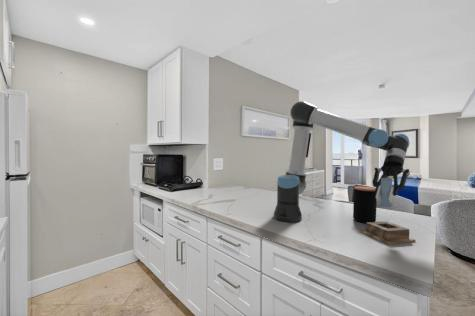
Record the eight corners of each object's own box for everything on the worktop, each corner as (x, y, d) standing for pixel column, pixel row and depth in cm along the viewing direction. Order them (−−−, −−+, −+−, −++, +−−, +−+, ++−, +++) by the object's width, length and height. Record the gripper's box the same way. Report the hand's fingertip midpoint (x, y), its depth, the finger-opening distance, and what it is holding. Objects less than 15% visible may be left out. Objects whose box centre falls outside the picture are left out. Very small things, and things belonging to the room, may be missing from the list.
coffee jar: (372, 219, 123) (373, 186, 122) (378, 225, 112) (380, 189, 112) (351, 217, 125) (351, 185, 125) (355, 223, 115) (356, 188, 115)
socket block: (360, 232, 102) (361, 221, 102) (385, 230, 105) (385, 220, 105) (387, 244, 88) (388, 232, 88) (415, 241, 91) (415, 230, 91)
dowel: (378, 205, 97) (378, 177, 97) (385, 204, 98) (386, 177, 98) (386, 207, 93) (386, 179, 93) (393, 206, 94) (394, 178, 94)
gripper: (418, 166, 100) (409, 208, 89) (375, 164, 112) (363, 201, 101) (416, 154, 96) (407, 197, 85) (372, 154, 108) (359, 191, 98)
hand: (383, 199), depth 93 cm, fingers closed on dowel, 4 cm apart
